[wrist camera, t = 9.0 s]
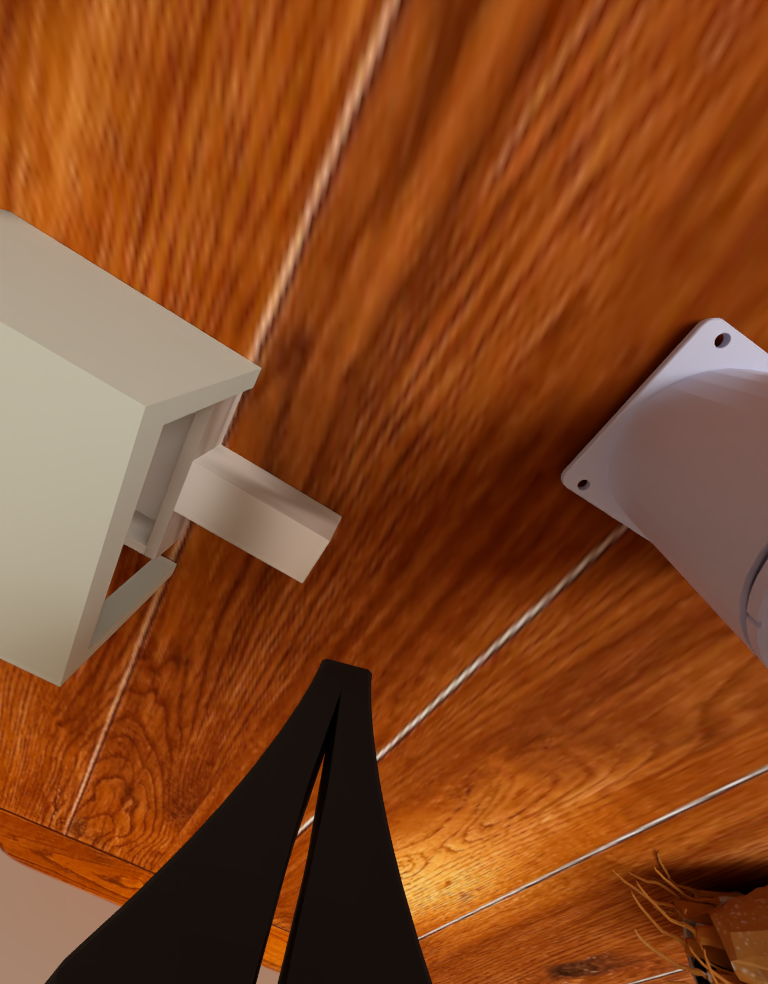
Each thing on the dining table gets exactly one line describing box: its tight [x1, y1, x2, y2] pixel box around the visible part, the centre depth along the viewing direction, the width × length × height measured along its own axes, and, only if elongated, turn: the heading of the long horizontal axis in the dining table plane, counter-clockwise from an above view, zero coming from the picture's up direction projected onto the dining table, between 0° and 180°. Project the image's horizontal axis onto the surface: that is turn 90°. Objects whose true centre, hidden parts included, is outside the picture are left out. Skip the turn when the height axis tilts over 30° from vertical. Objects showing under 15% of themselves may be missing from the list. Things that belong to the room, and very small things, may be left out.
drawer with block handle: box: [124, 392, 342, 583], centre depth 19 cm, size 17×10×2 cm, turn 59°
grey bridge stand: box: [0, 209, 261, 687], centre depth 16 cm, size 12×14×8 cm
